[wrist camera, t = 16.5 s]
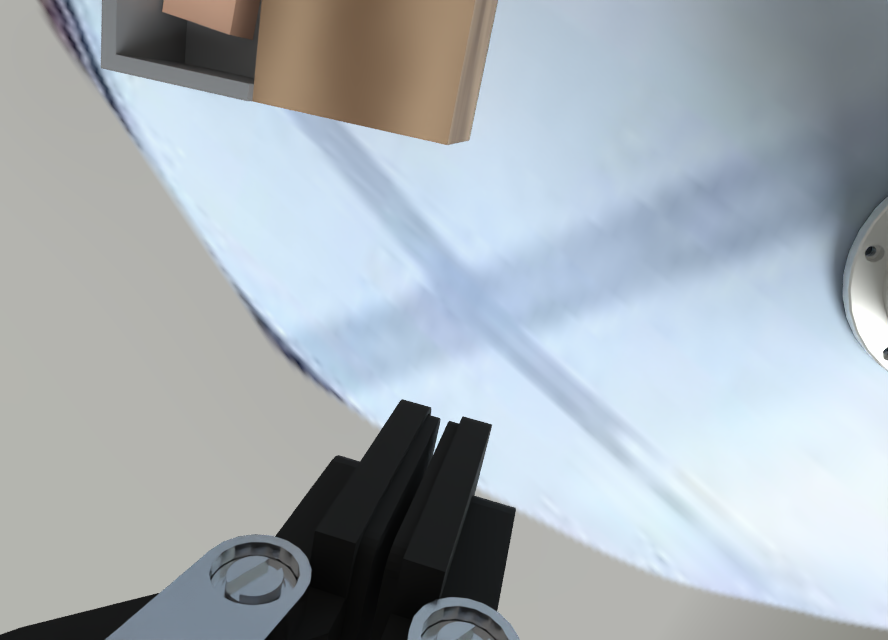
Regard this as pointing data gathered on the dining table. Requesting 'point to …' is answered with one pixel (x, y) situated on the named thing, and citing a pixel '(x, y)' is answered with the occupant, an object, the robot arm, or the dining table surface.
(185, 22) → the box
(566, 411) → the dining table surface
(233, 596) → the robot arm
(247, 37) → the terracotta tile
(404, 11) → the bench plate
